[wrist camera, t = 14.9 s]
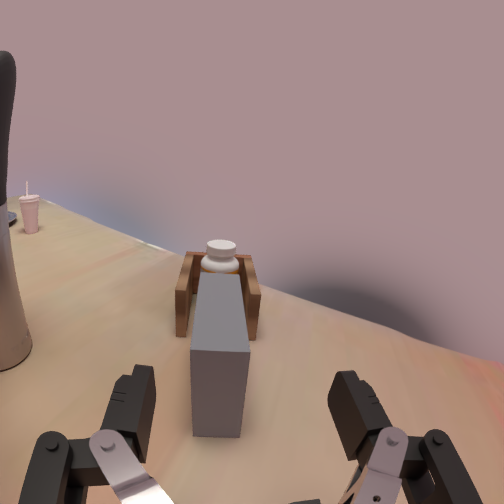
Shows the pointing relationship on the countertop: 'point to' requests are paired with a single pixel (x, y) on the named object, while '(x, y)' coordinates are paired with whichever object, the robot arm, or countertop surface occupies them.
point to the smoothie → (30, 211)
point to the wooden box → (190, 284)
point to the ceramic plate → (11, 216)
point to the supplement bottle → (220, 258)
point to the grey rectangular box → (219, 357)
